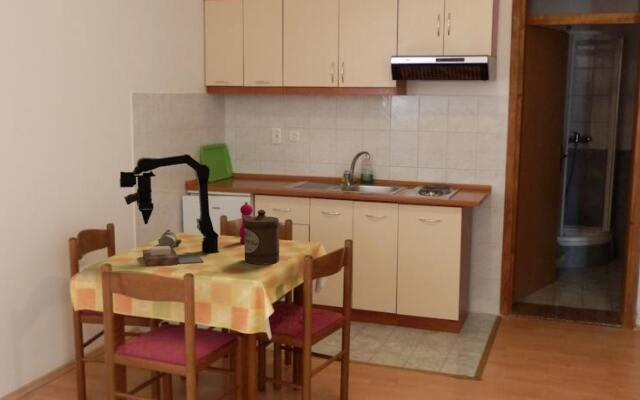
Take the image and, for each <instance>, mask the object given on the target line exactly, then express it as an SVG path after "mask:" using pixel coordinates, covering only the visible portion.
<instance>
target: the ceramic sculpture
mask: <svg viewBox="0 0 640 400" xmlns="http://www.w3.org/2000/svg"><path fill="white" fill-rule="evenodd" d="M181 243H182V239H180V238H178V237H177V235H176V234H175V233H174V231H173V232H172V231H171V230H170V229H167V230H165V231H164V232H163V234H162V235H161V236H160V238H158V246H169V247H170V249H171V248H173V249H174V246H178V245H180V244H181Z"/></svg>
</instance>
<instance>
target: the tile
mask: <svg viewBox="0 0 640 400" xmlns="http://www.w3.org/2000/svg"><path fill="white" fill-rule="evenodd" d="M149 250H150V254H151V256H152V255H169V254H171V249H170V247H169V246H159V245H158V246H150V247H149Z"/></svg>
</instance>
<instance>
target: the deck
mask: <svg viewBox="0 0 640 400" xmlns="http://www.w3.org/2000/svg"><path fill="white" fill-rule="evenodd" d="M178 255H179V254H177V253H176V251H175V249H174V247H173V248H171V254H169V255H152V256H151V254H150V249H143V250H142V257H143V261H144V262H145V265H146V267H154V266H167V265H168V266H169V265H180V263H179V258H178Z"/></svg>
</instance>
